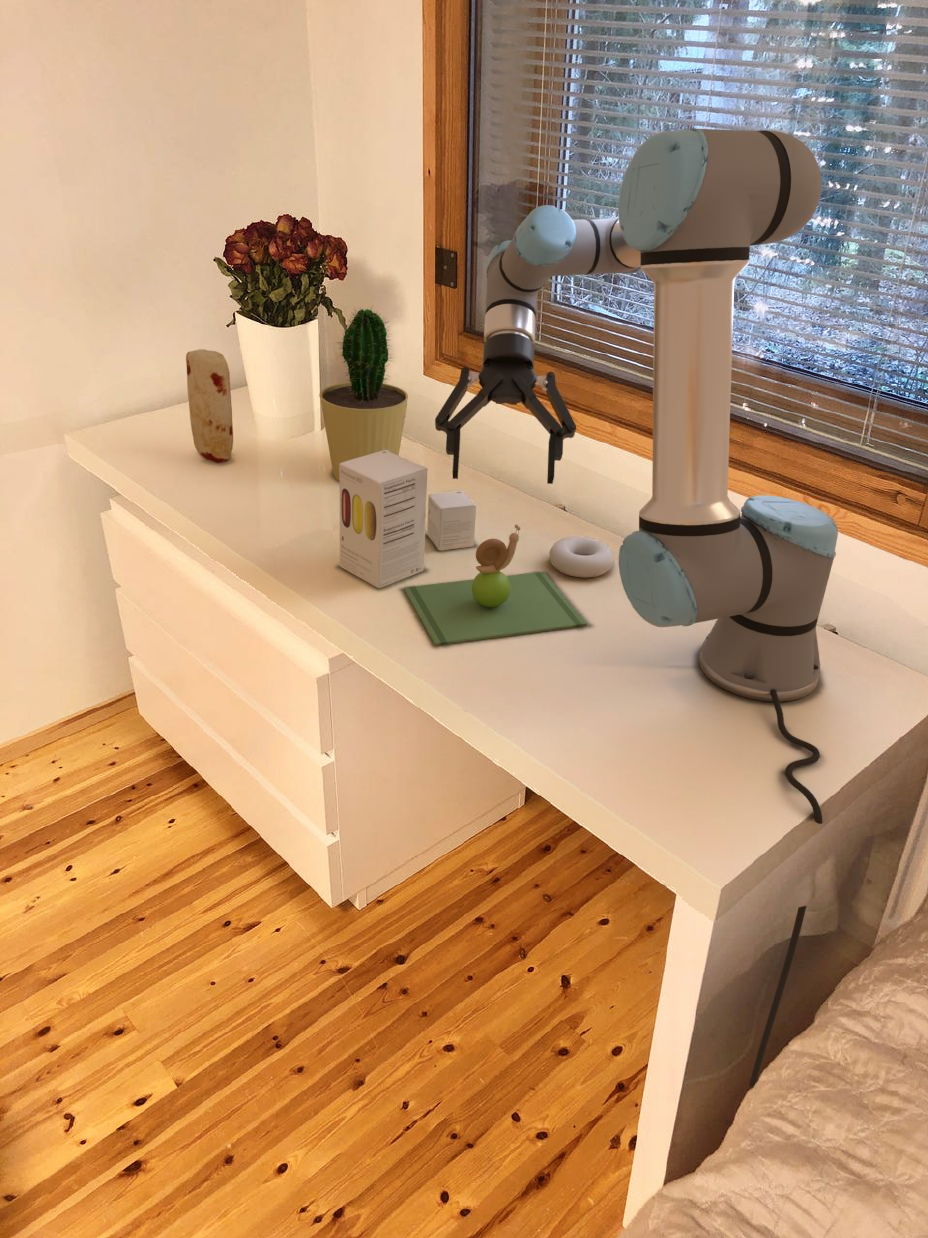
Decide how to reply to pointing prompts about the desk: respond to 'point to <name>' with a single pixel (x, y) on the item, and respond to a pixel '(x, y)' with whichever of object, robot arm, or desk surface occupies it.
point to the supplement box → (382, 517)
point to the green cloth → (492, 610)
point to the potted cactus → (363, 396)
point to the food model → (210, 404)
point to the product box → (451, 520)
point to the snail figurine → (493, 571)
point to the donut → (581, 557)
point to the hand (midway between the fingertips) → (502, 477)
